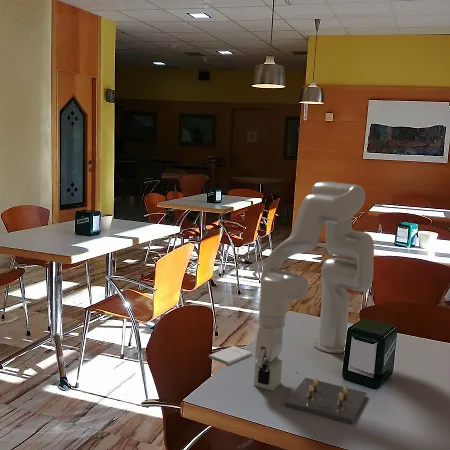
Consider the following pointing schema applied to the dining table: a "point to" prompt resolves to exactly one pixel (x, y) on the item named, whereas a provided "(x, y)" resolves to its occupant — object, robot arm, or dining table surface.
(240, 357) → the external hard drive
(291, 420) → the dining table surface
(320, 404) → the plate
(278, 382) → the beige block
